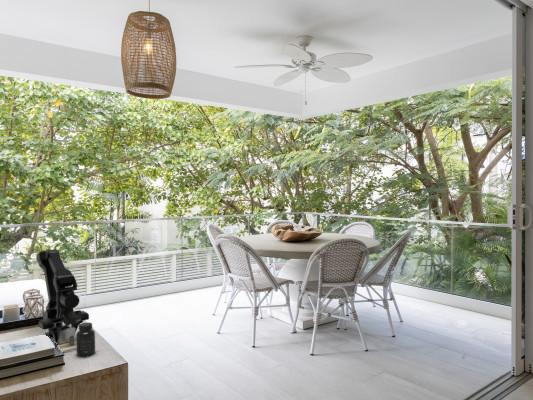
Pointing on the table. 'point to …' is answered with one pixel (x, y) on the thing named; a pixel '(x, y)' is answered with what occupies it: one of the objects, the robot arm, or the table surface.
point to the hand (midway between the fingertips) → (64, 339)
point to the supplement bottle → (85, 340)
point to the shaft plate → (69, 345)
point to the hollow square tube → (65, 334)
